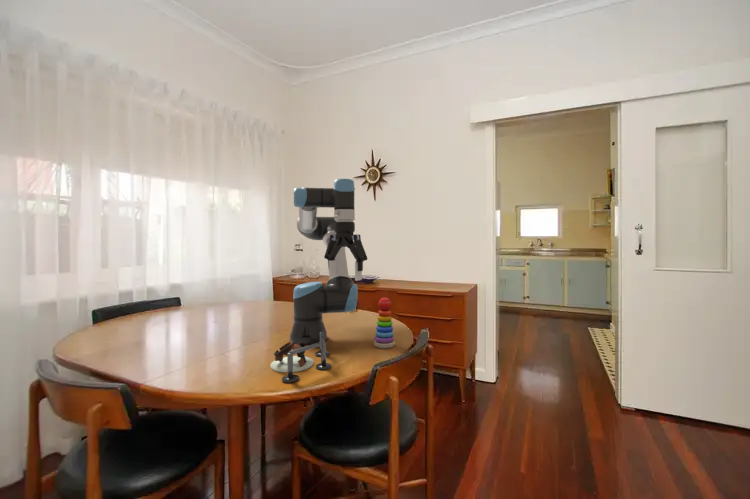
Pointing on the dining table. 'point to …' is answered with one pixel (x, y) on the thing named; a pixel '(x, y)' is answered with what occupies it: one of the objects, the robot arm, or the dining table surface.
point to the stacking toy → (384, 325)
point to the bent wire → (322, 353)
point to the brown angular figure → (288, 347)
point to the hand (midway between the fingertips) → (345, 278)
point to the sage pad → (283, 364)
